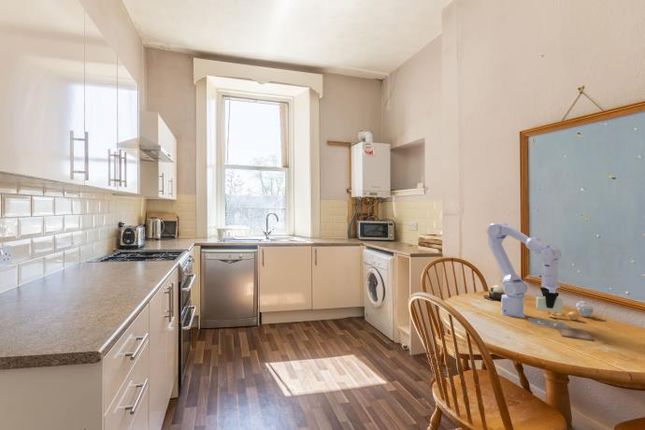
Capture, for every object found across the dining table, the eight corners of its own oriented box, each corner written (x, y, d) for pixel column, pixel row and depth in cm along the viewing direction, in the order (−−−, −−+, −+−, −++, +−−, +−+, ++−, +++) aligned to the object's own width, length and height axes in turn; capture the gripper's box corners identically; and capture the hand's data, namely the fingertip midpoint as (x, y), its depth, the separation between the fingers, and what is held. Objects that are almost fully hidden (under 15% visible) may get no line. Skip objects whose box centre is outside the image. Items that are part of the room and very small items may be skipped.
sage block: (537, 309, 148) (537, 298, 148) (535, 306, 153) (535, 295, 153) (562, 312, 144) (562, 300, 144) (559, 309, 149) (559, 298, 149)
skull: (477, 294, 196) (489, 281, 197) (490, 306, 196) (502, 293, 197) (489, 298, 184) (501, 285, 185) (502, 312, 184) (515, 298, 185)
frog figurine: (581, 313, 166) (581, 299, 165) (596, 318, 159) (597, 303, 159) (572, 314, 164) (572, 300, 164) (587, 319, 157) (587, 304, 157)
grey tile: (530, 324, 147) (530, 324, 147) (527, 318, 156) (527, 317, 156) (570, 330, 141) (570, 329, 141) (564, 323, 150) (564, 322, 150)
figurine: (583, 315, 150) (552, 306, 154) (579, 328, 150) (548, 318, 154) (576, 311, 158) (547, 302, 162) (573, 323, 158) (543, 314, 162)
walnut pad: (561, 336, 133) (561, 334, 133) (556, 328, 142) (556, 327, 142) (593, 341, 129) (593, 339, 129) (585, 333, 138) (585, 331, 138)
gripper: (564, 278, 140) (563, 311, 140) (557, 273, 153) (555, 303, 154) (544, 277, 143) (543, 309, 143) (538, 271, 156) (537, 301, 156)
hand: (548, 306), depth 149 cm, fingers closed on sage block, 5 cm apart
